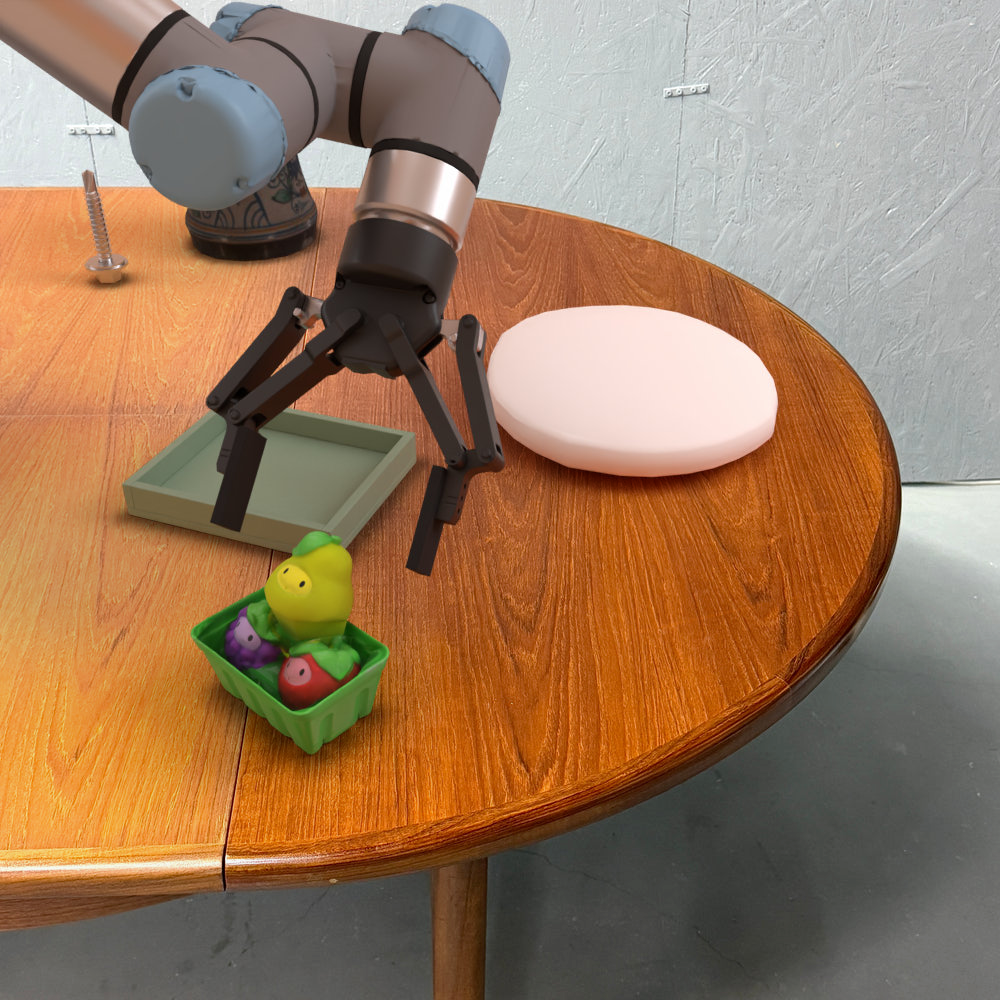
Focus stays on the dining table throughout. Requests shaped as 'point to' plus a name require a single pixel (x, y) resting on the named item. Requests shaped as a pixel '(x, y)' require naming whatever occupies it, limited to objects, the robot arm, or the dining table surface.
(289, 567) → the fruit basket
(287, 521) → the tray
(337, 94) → the robot arm
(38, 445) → the dining table surface
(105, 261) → the screw
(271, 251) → the dark brown tall vessel
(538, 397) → the pale pink round cushion
